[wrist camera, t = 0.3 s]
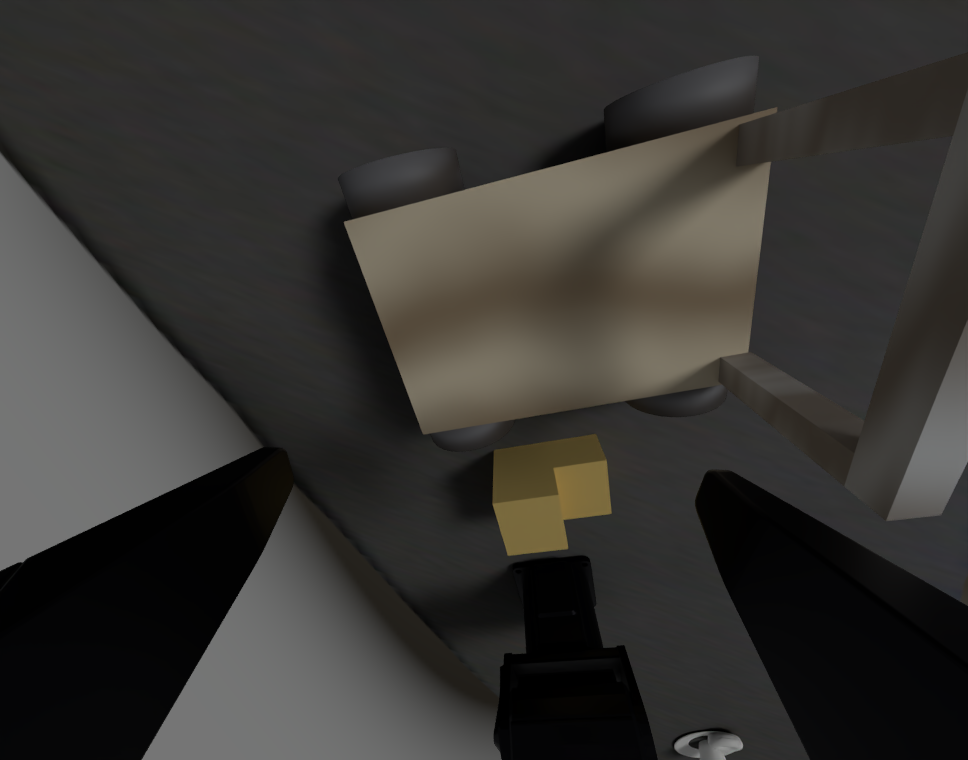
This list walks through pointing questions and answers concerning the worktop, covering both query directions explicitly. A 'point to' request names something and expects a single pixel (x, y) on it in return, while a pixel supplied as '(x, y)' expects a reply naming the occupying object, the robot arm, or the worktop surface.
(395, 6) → the worktop surface
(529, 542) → the block
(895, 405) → the trolley
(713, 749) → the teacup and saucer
